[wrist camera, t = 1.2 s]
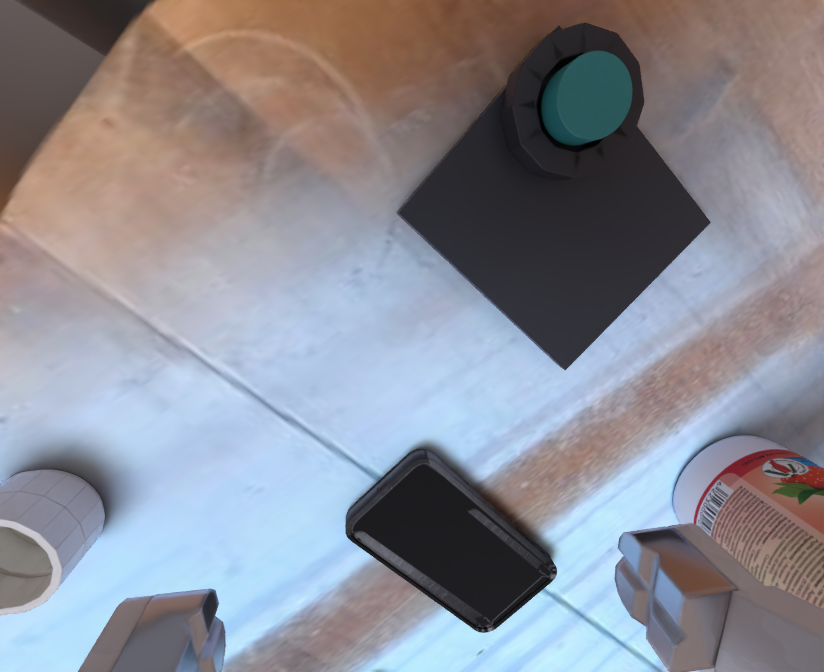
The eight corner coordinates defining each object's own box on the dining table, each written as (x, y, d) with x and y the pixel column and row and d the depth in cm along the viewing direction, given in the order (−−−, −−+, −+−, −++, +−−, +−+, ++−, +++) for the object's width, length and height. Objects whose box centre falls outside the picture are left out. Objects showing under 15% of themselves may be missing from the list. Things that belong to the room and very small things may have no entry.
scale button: (525, 107, 20) (540, 97, 18) (579, 45, 20) (600, 30, 18) (572, 162, 21) (591, 157, 20) (624, 104, 21) (648, 95, 19)
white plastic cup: (-24, 517, 25) (-102, 580, 21) (32, 446, 24) (-37, 496, 20) (74, 565, 27) (20, 632, 23) (129, 500, 26) (85, 556, 22)
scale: (392, 210, 23) (397, 209, 20) (555, 18, 22) (586, -11, 19) (556, 364, 27) (580, 381, 24) (704, 212, 26) (748, 212, 23)
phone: (485, 637, 32) (337, 531, 27) (481, 623, 33) (338, 519, 28) (564, 571, 31) (425, 451, 26) (557, 559, 32) (422, 441, 27)
